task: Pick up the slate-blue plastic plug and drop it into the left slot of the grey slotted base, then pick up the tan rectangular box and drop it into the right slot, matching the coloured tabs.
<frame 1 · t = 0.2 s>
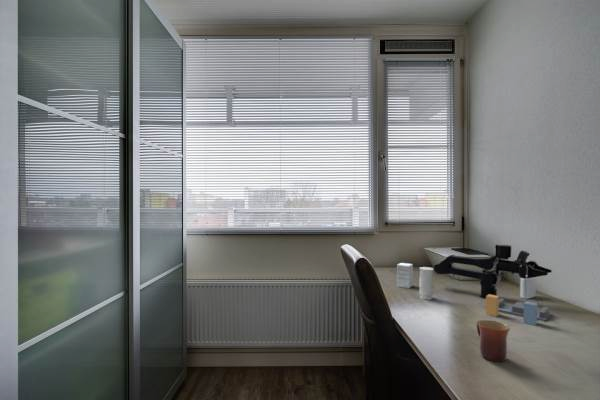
hand: (549, 272, 154), 17 cm above the table, tool horizontal, fingers open, 9 cm apart
mug: (489, 355, 108), on the table
grey slotted base: (520, 312, 150), on the table
tan rectangular box: (492, 314, 147), on the table
blue plug: (530, 322, 137), on the table
candle: (426, 298, 171), on the table
supplement box: (404, 286, 194), on the table
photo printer: (527, 297, 174), on the table
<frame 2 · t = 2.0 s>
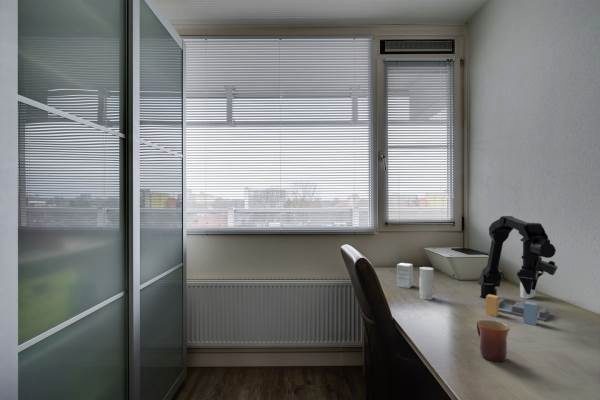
hand: (530, 292, 137), 13 cm above the table, tool pointing down, fingers open, 9 cm apart
nothing on the table moved.
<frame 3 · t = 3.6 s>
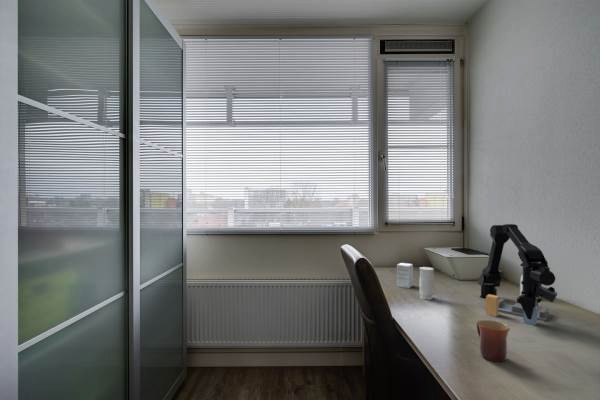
hand: (530, 317, 137), 2 cm above the table, tool pointing down, fingers closed on blue plug, 4 cm apart
blue plug: (530, 322, 137), on the table, touching gripper
everything else where it was.
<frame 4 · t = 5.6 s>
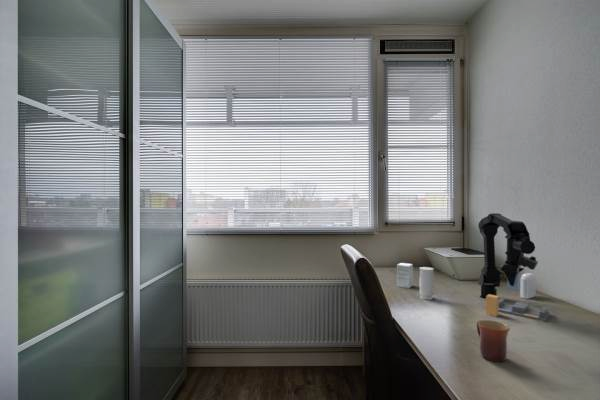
hand: (513, 284, 149), 12 cm above the table, tool pointing down, fingers closed on blue plug, 4 cm apart
blue plug: (513, 289, 149), point 10 cm above the table, touching gripper
everything else where it was.
when the fingers open (4 cm above the table, at t = 7.9 s): blue plug drops 1 cm, resting on grey slotted base.
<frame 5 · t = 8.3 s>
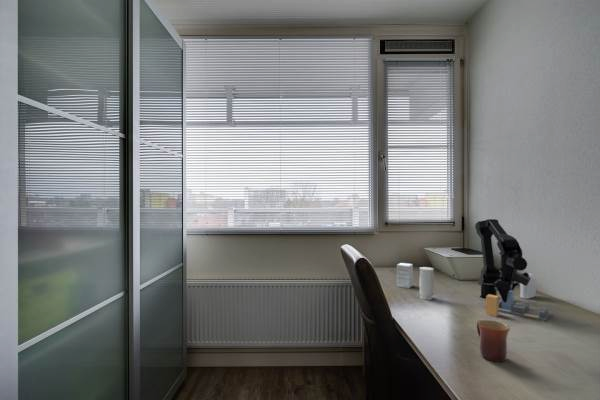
hand: (507, 300, 153), 4 cm above the table, tool pointing down, fingers open, 8 cm apart
blue plug: (507, 307, 153), point 1 cm above the table, touching grey slotted base
everything else where it was.
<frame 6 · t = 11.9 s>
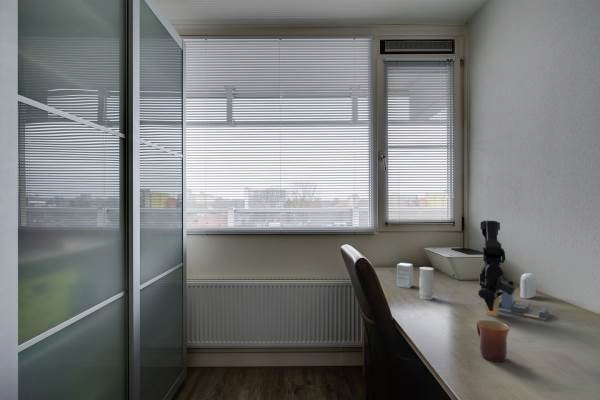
hand: (492, 309, 147), 2 cm above the table, tool pointing down, fingers closed on tan rectangular box, 4 cm apart
tan rectangular box: (492, 314, 147), on the table, touching gripper
everything else where it was.
when the fingers open (4 cm above the table, at t = 16.2 s): tan rectangular box drops 1 cm, resting on grey slotted base.
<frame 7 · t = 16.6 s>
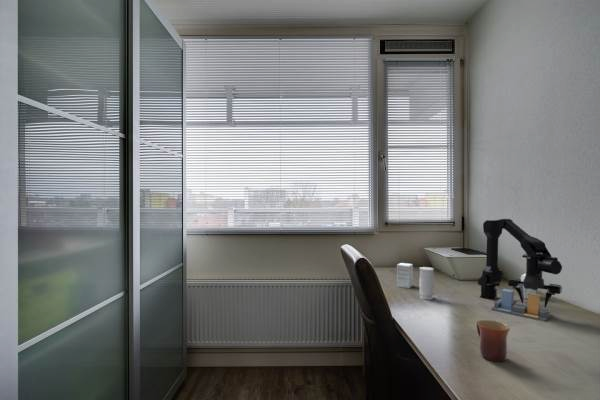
hand: (533, 305, 146), 4 cm above the table, tool pointing down, fingers open, 8 cm apart
tan rectangular box: (533, 313, 146), point 1 cm above the table, touching grey slotted base
everything else where it was.
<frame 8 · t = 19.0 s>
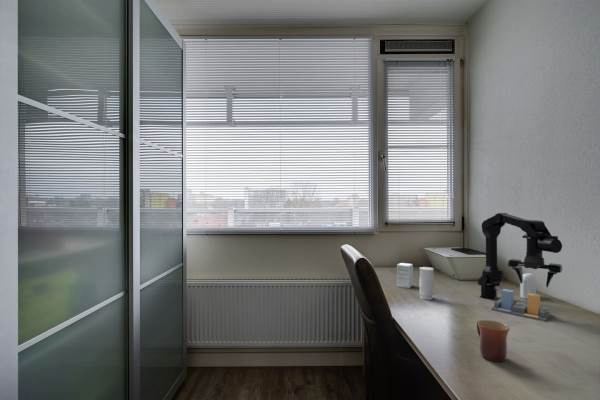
hand: (534, 285, 146), 13 cm above the table, tool pointing down, fingers open, 9 cm apart
nothing on the table moved.
at the end: blue plug 0.0 cm from the target spot on the grey slotted base, point 0.8 cm above the grey slotted base's base; tan rectangular box 0.0 cm from the target spot on the grey slotted base, point 0.8 cm above the grey slotted base's base; tan rectangular box tilted 0° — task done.
